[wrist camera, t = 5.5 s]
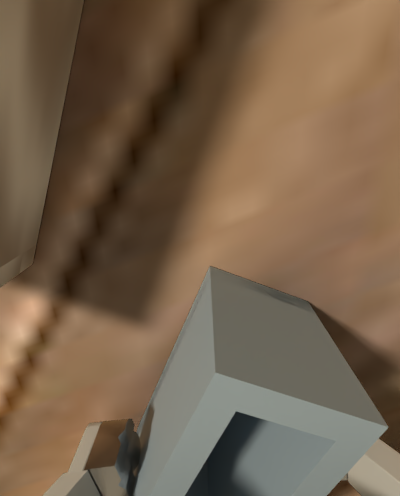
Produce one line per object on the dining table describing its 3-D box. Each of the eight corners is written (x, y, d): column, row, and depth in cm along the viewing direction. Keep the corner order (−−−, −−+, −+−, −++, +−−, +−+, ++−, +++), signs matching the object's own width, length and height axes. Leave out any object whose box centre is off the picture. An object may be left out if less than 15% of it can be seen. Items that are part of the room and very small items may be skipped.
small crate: (216, 450, 14) (223, 610, 9) (137, 428, 13) (101, 585, 9) (308, 301, 11) (388, 427, 6) (209, 266, 10) (215, 372, 6)
